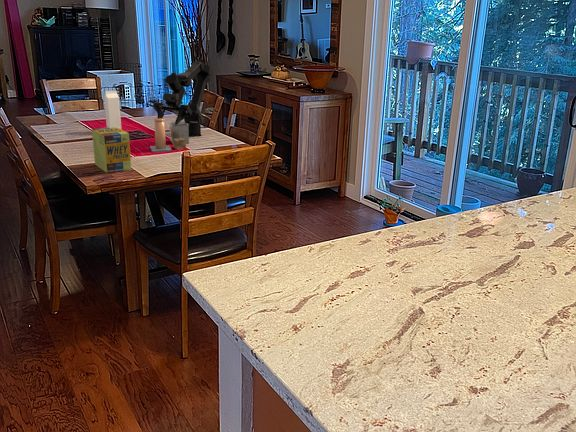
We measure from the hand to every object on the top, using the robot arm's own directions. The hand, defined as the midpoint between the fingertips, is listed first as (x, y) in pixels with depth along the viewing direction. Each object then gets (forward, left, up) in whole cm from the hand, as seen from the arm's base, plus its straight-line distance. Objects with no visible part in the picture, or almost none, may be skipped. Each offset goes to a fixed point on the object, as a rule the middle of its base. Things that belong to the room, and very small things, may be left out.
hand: (166, 123), depth 266 cm
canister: (+4, +5, -10) cm, 12 cm away
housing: (-7, -9, -11) cm, 16 cm away
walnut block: (-5, +4, -11) cm, 13 cm away
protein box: (+27, +31, -12) cm, 43 cm away
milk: (+23, -37, -11) cm, 45 cm away
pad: (+4, +5, -11) cm, 13 cm away
